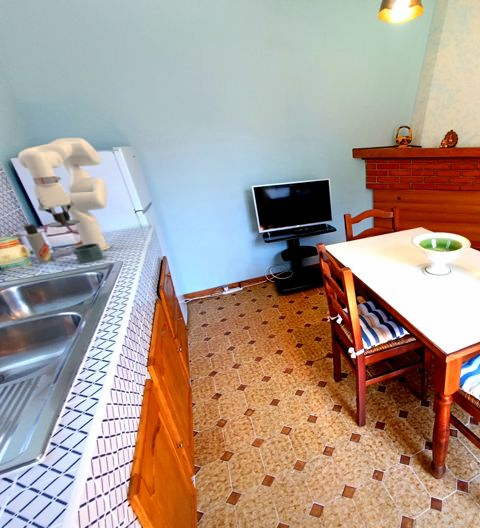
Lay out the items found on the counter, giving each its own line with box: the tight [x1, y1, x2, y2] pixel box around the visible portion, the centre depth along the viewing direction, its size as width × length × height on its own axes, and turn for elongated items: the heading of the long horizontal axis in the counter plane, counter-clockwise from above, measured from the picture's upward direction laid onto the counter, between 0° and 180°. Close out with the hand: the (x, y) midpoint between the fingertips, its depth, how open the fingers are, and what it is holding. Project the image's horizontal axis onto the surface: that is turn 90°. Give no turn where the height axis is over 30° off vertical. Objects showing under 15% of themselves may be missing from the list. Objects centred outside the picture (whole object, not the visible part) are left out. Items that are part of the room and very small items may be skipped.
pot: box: [72, 244, 105, 264], centre depth 151 cm, size 10×10×7 cm
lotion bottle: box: [23, 223, 55, 264], centre depth 149 cm, size 6×6×20 cm
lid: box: [48, 211, 80, 228], centre depth 141 cm, size 11×11×6 cm
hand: (63, 220), depth 141 cm, fingers closed on lid, 2 cm apart
